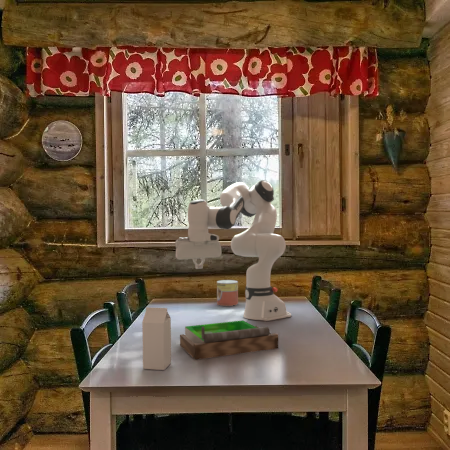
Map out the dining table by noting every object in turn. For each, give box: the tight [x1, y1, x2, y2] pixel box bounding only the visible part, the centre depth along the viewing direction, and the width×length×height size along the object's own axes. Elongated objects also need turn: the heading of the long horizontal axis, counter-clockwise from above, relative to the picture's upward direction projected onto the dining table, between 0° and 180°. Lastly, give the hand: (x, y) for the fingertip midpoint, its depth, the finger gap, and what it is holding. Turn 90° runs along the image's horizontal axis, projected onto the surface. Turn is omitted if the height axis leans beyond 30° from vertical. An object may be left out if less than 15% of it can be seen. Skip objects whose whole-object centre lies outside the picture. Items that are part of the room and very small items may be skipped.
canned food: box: [216, 279, 239, 307], centre depth 245 cm, size 11×11×12 cm
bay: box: [179, 325, 279, 361], centre depth 168 cm, size 32×18×10 cm, turn 112°
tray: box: [184, 320, 257, 343], centre depth 174 cm, size 25×25×5 cm
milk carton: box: [141, 306, 172, 371], centre depth 148 cm, size 7×7×19 cm
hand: (199, 268), depth 202 cm, fingers closed
